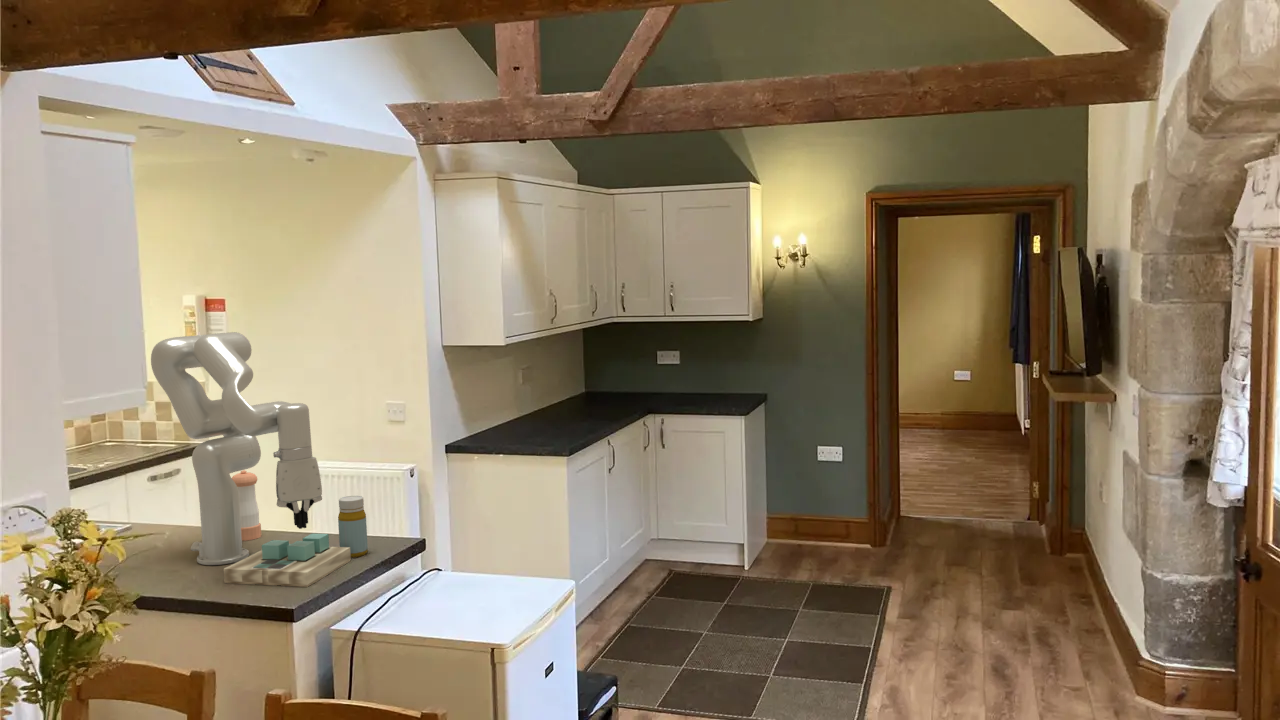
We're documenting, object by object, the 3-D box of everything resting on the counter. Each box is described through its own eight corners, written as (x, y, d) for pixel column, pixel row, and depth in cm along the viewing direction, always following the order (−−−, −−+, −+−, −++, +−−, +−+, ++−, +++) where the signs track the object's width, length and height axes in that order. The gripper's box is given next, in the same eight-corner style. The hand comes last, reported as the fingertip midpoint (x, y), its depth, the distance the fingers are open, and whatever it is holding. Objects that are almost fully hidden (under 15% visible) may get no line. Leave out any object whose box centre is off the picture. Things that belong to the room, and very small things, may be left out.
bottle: (360, 558, 258) (357, 501, 257) (335, 557, 259) (332, 501, 258) (372, 551, 265) (369, 495, 263) (348, 550, 266) (345, 495, 265)
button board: (224, 583, 240) (223, 567, 240) (273, 557, 261) (272, 542, 261) (307, 586, 236) (306, 570, 236) (350, 560, 256) (350, 545, 256)
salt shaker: (265, 537, 282) (261, 470, 280) (239, 542, 277) (235, 474, 275) (255, 532, 287) (251, 466, 285) (229, 537, 282) (225, 470, 280)
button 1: (262, 558, 247) (261, 545, 247) (273, 553, 252) (272, 540, 251) (279, 559, 246) (278, 545, 246) (289, 554, 251) (288, 540, 250)
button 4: (303, 551, 252) (302, 538, 252) (312, 546, 257) (312, 533, 257) (319, 552, 251) (319, 538, 251) (329, 547, 256) (328, 533, 256)
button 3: (288, 559, 246) (287, 546, 245) (298, 554, 250) (297, 540, 250) (305, 560, 245) (304, 546, 244) (314, 555, 249) (314, 541, 249)
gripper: (267, 460, 238) (273, 535, 239) (330, 451, 246) (336, 524, 247) (260, 456, 244) (266, 529, 245) (322, 448, 252) (327, 519, 254)
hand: (301, 527), depth 246 cm, fingers closed
